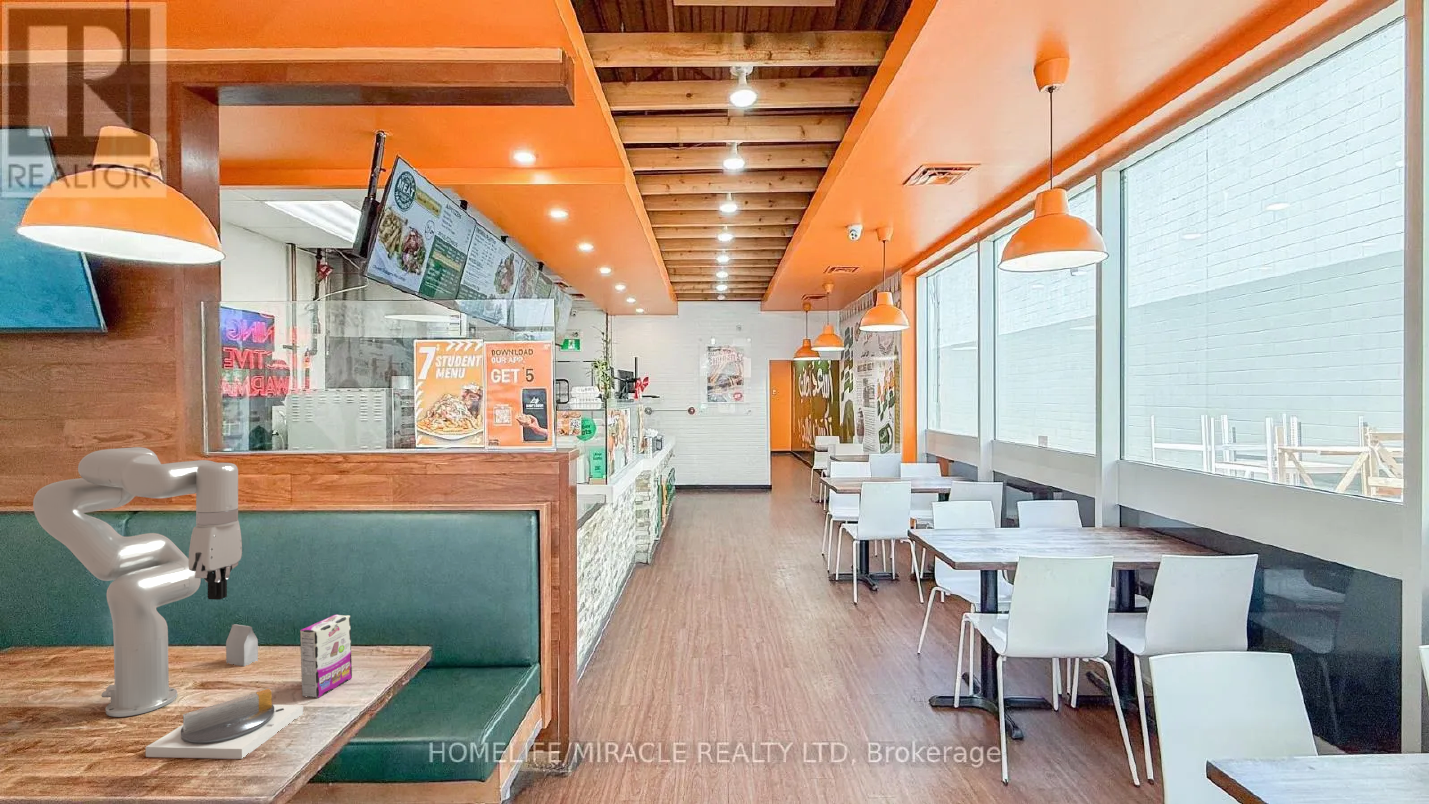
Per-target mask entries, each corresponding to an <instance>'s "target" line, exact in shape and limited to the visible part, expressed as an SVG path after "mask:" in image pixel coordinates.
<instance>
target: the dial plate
mask: <svg viewBox="0 0 1429 804" xmlns="http://www.w3.org/2000/svg"><path fill="white" fill-rule="evenodd" d="M272 705H273V706H274V716H273V718H272V719H271V720H270V721H269V722H267V723H266V724H265V725H263V726H262V727H260V728H258V729H256V730H254V731H252V732H250V733H247V734H245V735H242V736H239V737H236V738H233V739H229V740H225V741H220V742H214V743H206V744H193V743H188V742H185V741H183V740H182V739H181V729H182V727H183V724H182V725H180V726H178V727H177V728H174V730H171V731H170V732H169V733H167V734H165V735H164V736H163V735H162V737H160V738H158V739H157V740H155V741H154V742H152V743H149V744H148V745H146V746H145V757H146V758H177V759H178V758H182V759H184V758H185V759H192V758H193V759H226V760H227V759H228V760H229V759H230V760H231V759H232V760H233V759H234V760H238V759H239V760H242V759H244V758H246V757H247V756H248V755H249V754H251V753H252V752H254V751H255V750H256V749H257V748H259V747H260V746H261V744H262V745H263V744H264V743H266V742H267V741H269V740H270V739H271V738H272V737H274V736H275V735H276V734H278V733H279V732H280V730H281V729H282V728H283V729H284V727H285V726H286V727H287V726H289V725H290V724H292V723H293V722H294V721H295V720H294V719H296V720H297V719H298V718H300V717H301V716H303V714H304V705H303V704H272ZM299 716H300V717H299ZM293 720H294V721H293ZM292 721H293V722H292ZM289 723H290V724H289ZM288 724H289V725H288ZM286 727H285V728H286ZM283 729H282V730H283ZM282 730H281V731H282ZM278 731H279V732H278ZM277 732H278V733H277ZM248 753H249V754H248ZM247 754H248V755H247ZM246 755H247V756H246ZM243 757H244V758H243Z"/></svg>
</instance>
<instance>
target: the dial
mask: <svg viewBox="0 0 1429 804" xmlns="http://www.w3.org/2000/svg"><path fill="white" fill-rule="evenodd" d="M272 695H273V694H272V690H271V689H270V688H267V689H263V690H259V691H256V692H254V693H251V694H247V695H244V696H241V697H238V698H234V699H230V700H226V701H224V702H223V701H222V702H220V703H217V704H214V705H210V706H209V705H208V706H205V707H203V708H200V709H197V710H192V711H189V712H186V713H183V714H182V716H183V717H182V718H183V719H182V720H183V721H182V723H183V724H182V725H183V727H182V729H181V739H182V740H183V741H185V742H188V743H193V744H206V743H214V742H220V741H225V740H229V739H233V738H236V737H239V736H242V735H245V734H247V733H250V732H252V731H254V730H256V729H258V728H260V727H262V726H263V725H265V724H266V723H267V722H269V721H270V720H271V719H272V718H273V716H274V706H273V705H274V704H273V701H272V699H273V698H272V697H273V696H272Z"/></svg>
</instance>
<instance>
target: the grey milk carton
mask: <svg viewBox="0 0 1429 804" xmlns="http://www.w3.org/2000/svg"><path fill="white" fill-rule="evenodd" d="M258 640H259V639H258V638H257V636H256V633H254V630H253V627H252V626H250V625H243V624H237V623H236V624H231V628H230V631H229V634H228V636H227V639H226V641H225V657H226V659H225V661H226V664H228V663H229V665H233V664H234V666H241V667H246V665H247V666H249V665H252V664H253V663H252V662H254V663H256V662H255V661H257V662H259V641H258ZM251 663H252V664H251Z"/></svg>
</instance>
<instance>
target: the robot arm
mask: <svg viewBox="0 0 1429 804" xmlns="http://www.w3.org/2000/svg"><path fill="white" fill-rule="evenodd" d="M77 472H78V474H79V476H80V478H71V479H65V480H59V481H57V482H52V483H50V484H49V483H48V484H47V485H45V486H43V487H41V488H40V489H38V490H37V492H36V494H34V497H33V501H32V504H33V506H32V507H33V513H34V516H35V518H36V520H37V523H39V525H40V526H41V528H42V529H43V530H44V531H45V532H47V534H49V536H52V538H54V539H55V540H57V541H58V542H60V543H61V544H62V545H64V546H66V548H67V549H68V550H69V551H70V552H71V553H72V554H73V556H75V558H76V559H77V560H78V561H79V562H80V563H81V564H82V565H83V566H84V568H86V569H87V571H89V572H90V573H91V574H92V575H93V577H95V578H97V579H98V580H99V581H100V580H101V581H103V582H109V581H111V583H110V584H109V585H108V587H107V590H106V601H107V605H108V608H109V613H110V616H111V621H112V631H113V632H112V633H113V639H112V640H113V660H114V661H113V663H114V665H113V666H114V668H113V669H114V674H113V675H114V684H109V685H107V687H106V688H105V690H104V691H102V693H101V694H100V695H101V698H110V703H108V704H107V706H106V707H105V714H106V716H109V717H112V718H123V717H124V718H125V717H131V716H136V715H142V714H146V713H148V712H149V713H150V712H152V711H155V710H157V709H160V708H163V707H165V706H167V705H168V704H171V703H172V702H173V701H174V700H176V699H177V697H178V689H176V688H174V687H169V683H170V681H169V676H170V675H169V631H168V630H169V628H168V623H167V620H166V619H165V618H164V616H162V615H161V614H160V613H159V612H158V610H157V608H159V607H162V606H164V605H168V604H171V603H175V602H178V601H181V600H184V599H186V598H188V597H191V596H192V595H194V594H195V593H197V591H198V590H199V588H200V586H201V581H202V579H204V581H205V583H207V599H208V600H217V601H218V600H219V601H220V600H222V599H225V598H227V596H228V580H229V579H230V575H231V571H233V569H235V568H236V567H238V566H239V562H240V561H241V559H242V556H243V546H242V545H243V542H242V540H243V539H242V531H241V525H240V521H239V467H238V466H237V465H236V464H235V463H231V462H217V461H212V460H207V459H198V460H189V461H187V460H186V461H177V462H167V463H161V461H160V460H159V458H158V455H157V454H156V453H155V452H154V450H151V449H149V448H146V447H141V446H135V447H133V446H132V447H120V448H118V447H117V448H107V449H100V450H95V451H92V452H90V453H88V454H86V455H85V456H83V458H82V459H81V460H80V461H79V462H78V466H77ZM193 494H196V495H195V501H196V503H195V506H196V507H195V511H196V513H195V514H196V515H195V517H196V518H195V520H196V521H195V524H196V525H195V526H193V528H192V532H191V537H190V542H189V549H188V556H187V555H185V553H184V552H182V550H181V549H179V547H178V546H177V545H176V544H175V543H174V542H173V541H172V540H171V539H170V538H168V537H167V536H165V535H164V534H160V533H155V532H149V533H147V532H146V533H143V534H136V535H132V536H123V535H121V534H120V533H119V532H118V531H116V530H115V529H114V527H113V526H111V524H109V523H108V522H107V521H105V520H102V519H100V518H97V517H94V516H91V515H88V514H86V513H92V512H97V511H98V512H99V511H104V510H105V511H106V510H111V509H116V508H120V507H124V506H126V504H129V503H130V502H131V501H132V500H133V499H134V498H135V497H139V498H140V497H141V498H149V499H168V498H173V497H180V496H185V495H186V496H187V495H193Z"/></svg>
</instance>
